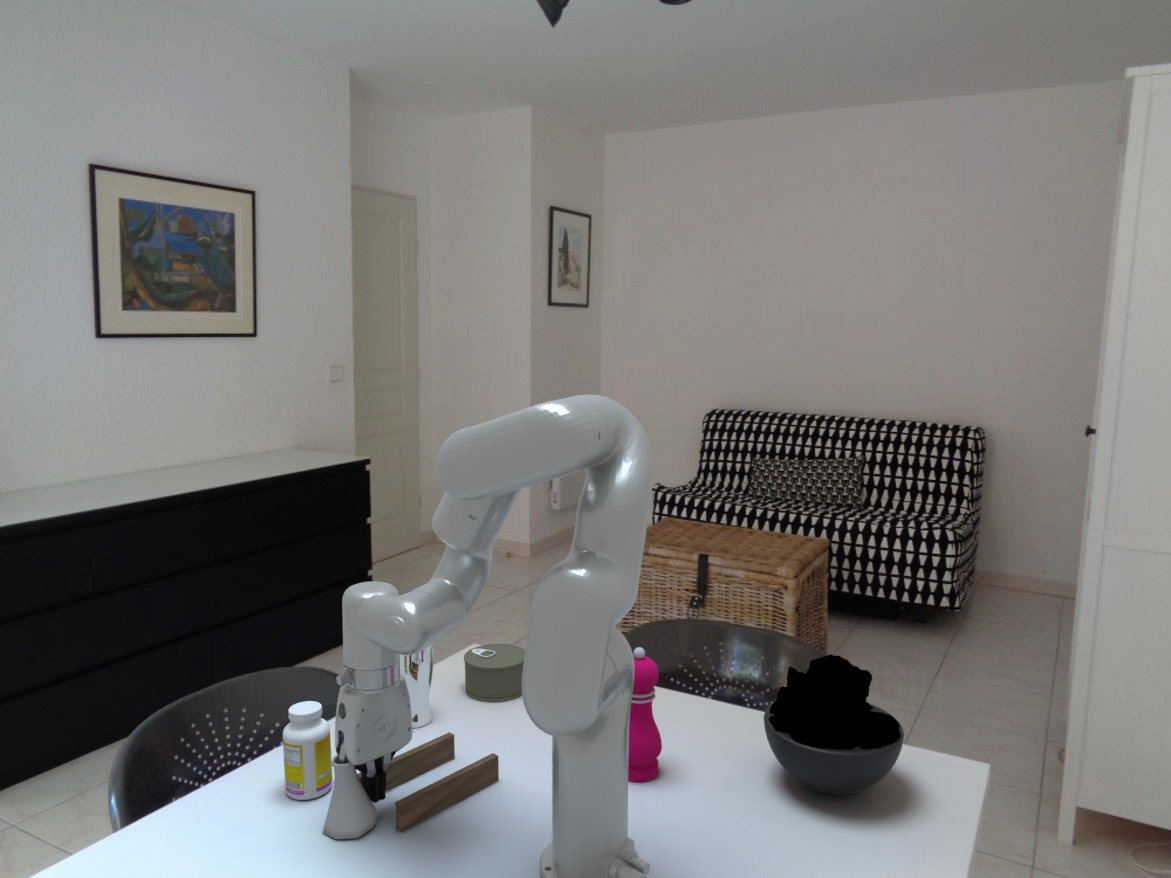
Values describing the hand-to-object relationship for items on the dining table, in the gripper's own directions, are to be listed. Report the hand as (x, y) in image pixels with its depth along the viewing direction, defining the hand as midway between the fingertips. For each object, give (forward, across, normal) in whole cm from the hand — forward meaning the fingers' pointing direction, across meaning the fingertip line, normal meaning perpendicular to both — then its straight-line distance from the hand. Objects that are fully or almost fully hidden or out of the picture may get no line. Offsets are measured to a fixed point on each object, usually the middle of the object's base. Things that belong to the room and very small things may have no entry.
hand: (374, 797), depth 120 cm
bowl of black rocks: (+2, +50, -44) cm, 67 cm away
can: (+3, +40, +19) cm, 44 cm away
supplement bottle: (+3, -3, +13) cm, 13 cm away
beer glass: (+3, +22, +20) cm, 29 cm away
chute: (+3, +9, -1) cm, 9 cm away
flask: (+3, -4, 0) cm, 5 cm away
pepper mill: (+2, +34, -20) cm, 40 cm away
